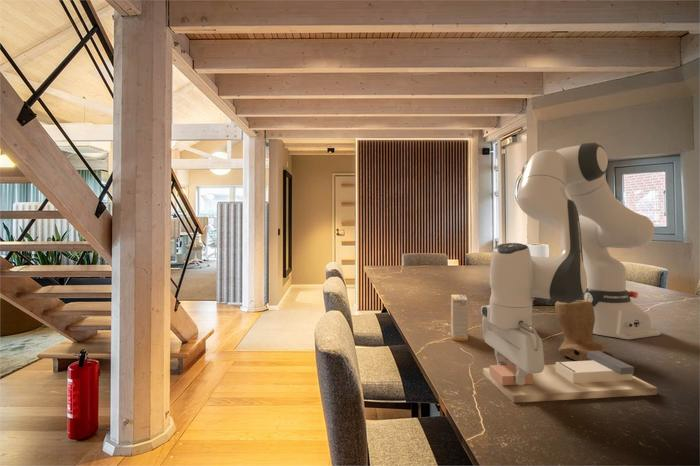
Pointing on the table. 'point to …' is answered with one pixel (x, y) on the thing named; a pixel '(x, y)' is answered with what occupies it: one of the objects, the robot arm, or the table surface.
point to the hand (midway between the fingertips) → (510, 376)
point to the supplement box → (459, 317)
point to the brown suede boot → (577, 329)
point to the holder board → (569, 387)
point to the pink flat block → (507, 374)
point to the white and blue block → (595, 369)
